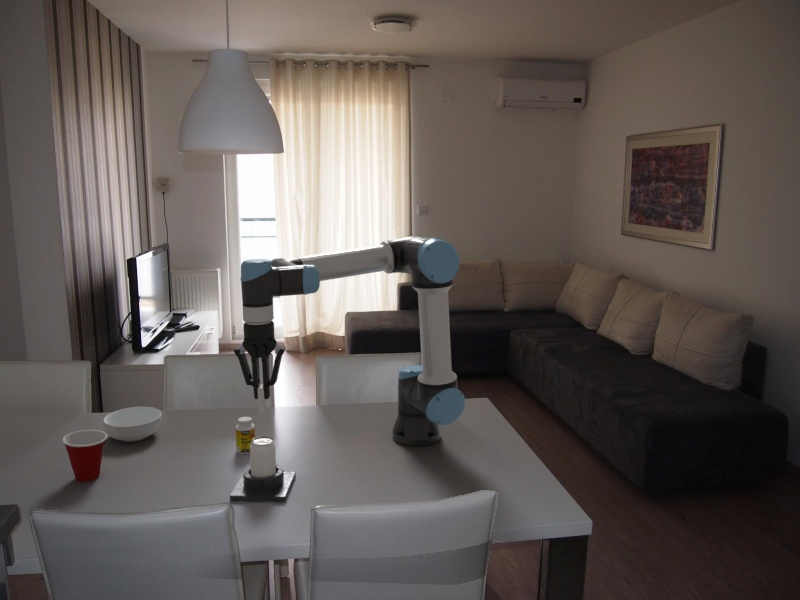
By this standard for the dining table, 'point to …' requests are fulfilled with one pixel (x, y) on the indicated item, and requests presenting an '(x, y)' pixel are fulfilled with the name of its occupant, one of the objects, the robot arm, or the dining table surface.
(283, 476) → the socket
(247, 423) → the supplement bottle
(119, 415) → the cereal bowl
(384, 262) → the robot arm
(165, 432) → the dining table surface
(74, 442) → the plastic cup
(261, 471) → the can
